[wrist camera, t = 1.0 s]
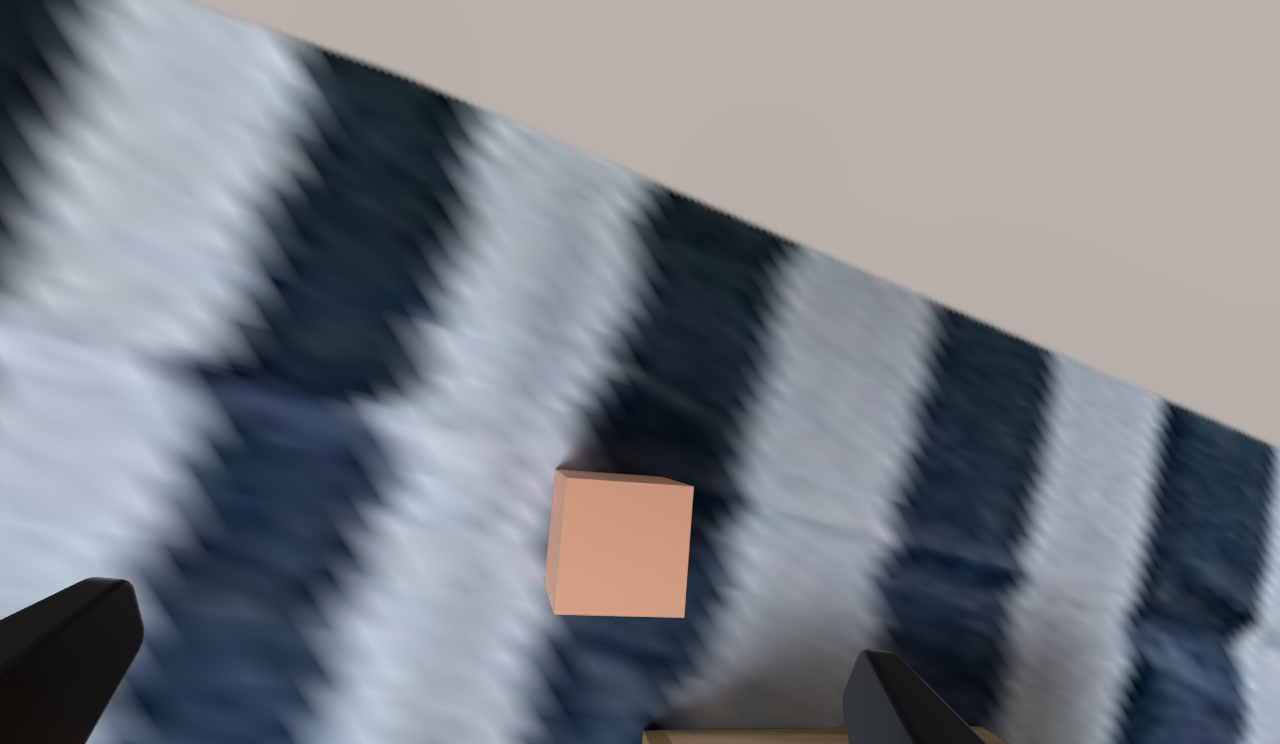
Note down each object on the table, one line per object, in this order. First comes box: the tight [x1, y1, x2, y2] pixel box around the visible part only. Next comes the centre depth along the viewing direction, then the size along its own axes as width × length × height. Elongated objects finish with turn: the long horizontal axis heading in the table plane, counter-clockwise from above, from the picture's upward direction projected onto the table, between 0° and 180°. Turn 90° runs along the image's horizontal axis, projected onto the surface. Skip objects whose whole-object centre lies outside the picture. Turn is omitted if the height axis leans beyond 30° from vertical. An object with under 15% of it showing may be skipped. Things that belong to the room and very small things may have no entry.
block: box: [544, 469, 694, 618], centre depth 22 cm, size 4×4×4 cm
